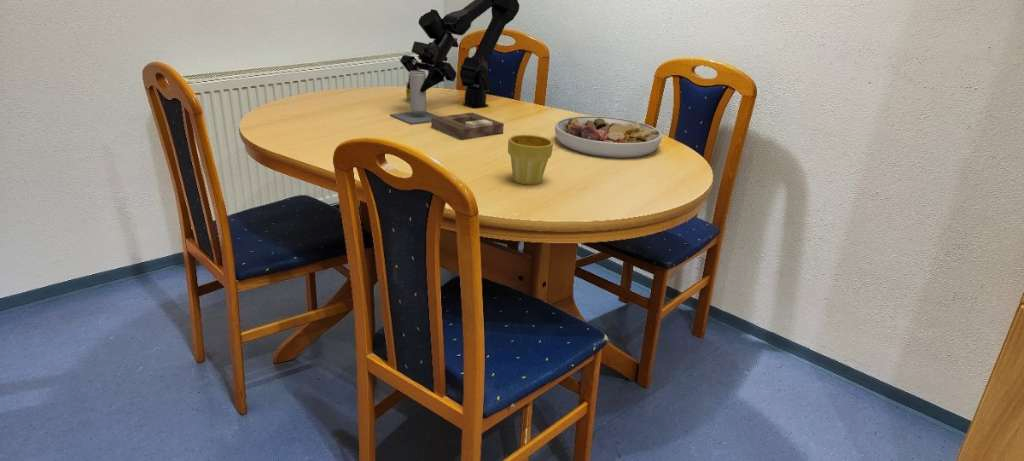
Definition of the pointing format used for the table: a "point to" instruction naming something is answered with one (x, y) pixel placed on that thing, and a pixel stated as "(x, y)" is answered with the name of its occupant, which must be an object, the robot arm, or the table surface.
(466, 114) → the puzzle board
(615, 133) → the bowl
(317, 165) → the table surface
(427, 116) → the rubber mat
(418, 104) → the beverage can
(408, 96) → the supplement bottle
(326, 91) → the table surface
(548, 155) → the plant pot
